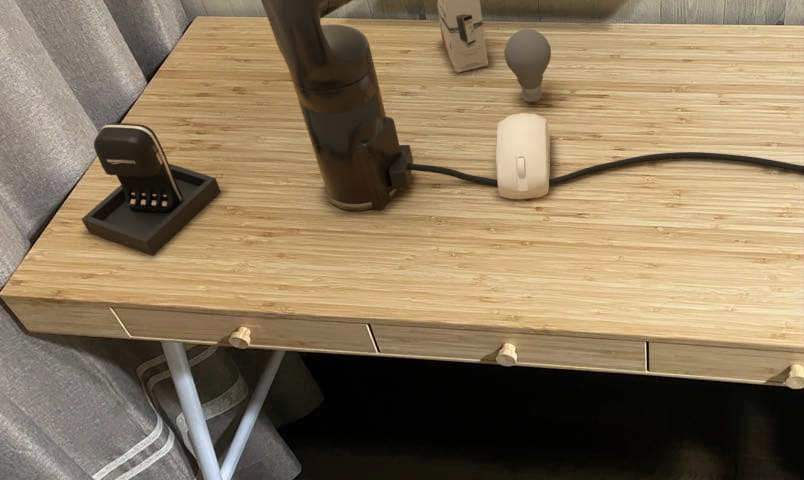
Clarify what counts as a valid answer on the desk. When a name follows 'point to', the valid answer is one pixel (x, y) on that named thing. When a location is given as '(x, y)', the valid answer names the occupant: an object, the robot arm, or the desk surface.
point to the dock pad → (151, 213)
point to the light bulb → (528, 61)
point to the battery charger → (138, 166)
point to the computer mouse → (523, 156)
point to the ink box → (463, 33)
